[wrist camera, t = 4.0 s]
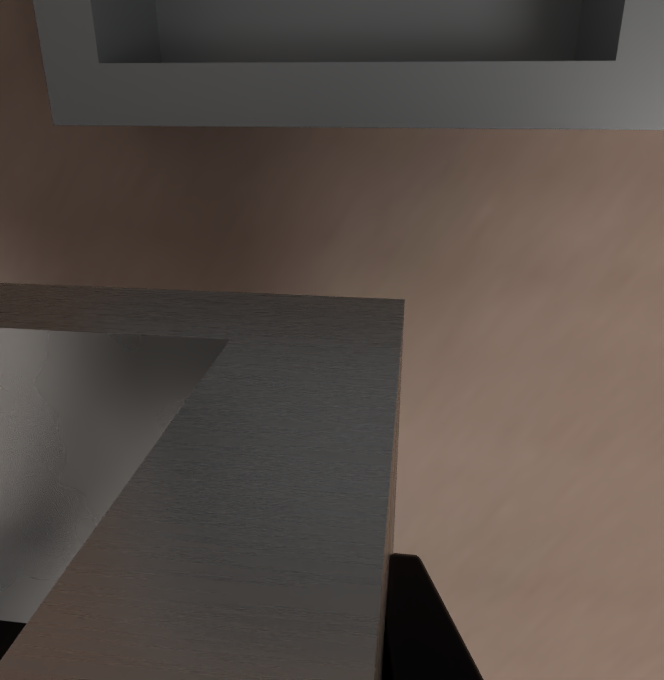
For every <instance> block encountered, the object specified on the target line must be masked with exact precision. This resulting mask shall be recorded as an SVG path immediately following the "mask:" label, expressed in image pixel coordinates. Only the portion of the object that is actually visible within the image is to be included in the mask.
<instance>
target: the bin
mask: <svg viewBox="0 0 664 680" xmlns="http://www.w3.org/2000/svg"><path fill="white" fill-rule="evenodd" d="M33 6H34V12H35V18H36V24H37V30H38V36H39V42H40V48H41V53H42V59H43V65H44V71H45V77H46V83H47V89H48V95H49V101H50V107H51V113H52V119H53V125H77V126H210V127H344V128H477V129H610V130H664V0H33Z"/></svg>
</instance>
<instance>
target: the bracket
mask: <svg viewBox="0 0 664 680" xmlns="http://www.w3.org/2000/svg"><path fill="white" fill-rule="evenodd" d="M404 303H405V300H404V299H380V298H356V297H332V296H308V295H283V294H259V293H235V292H211V291H187V290H163V289H139V288H115V287H91V286H67V285H43V284H19V283H0V620H3V621H12V622H21V623H27V624H26V625H25V627H24V628H23V630H22V631H21V632H20V634H19V635H18V637H17V638H16V639H15V641H14V642H13V644H12V645H11V646H10V648H9V649H8V651H7V652H6V653H5V655H4V656H3V658H2V659H1V660H0V680H383V661H384V636H385V618H386V604H387V591H388V578H389V564H390V554H392V553H393V547H394V525H395V502H396V480H397V458H398V436H399V414H400V392H401V370H402V348H403V326H404Z"/></svg>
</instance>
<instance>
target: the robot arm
mask: <svg viewBox="0 0 664 680" xmlns="http://www.w3.org/2000/svg"><path fill="white" fill-rule="evenodd" d="M26 624H27V623H21V622H12V621H3V620H0V660H1V659H2V658H3V656H4V655H5V653H6V652H7V651H8V649H9V648H10V646H11V645H12V644H13V642H14V641H15V639H16V638H17V637H18V635H19V634H20V632H21V631H22V630H23V628H24V627H25V625H26ZM383 680H483V678H482V676H481V674H480V672H479V670H478V668H477V666H476V664H475V662H474V660H473V659H472V657H471V655H470V653H469V651H468V649H467V647H466V645H465V643H464V641H463V639H462V637H461V636H460V634H459V632H458V630H457V628H456V626H455V624H454V622H453V620H452V618H451V616H450V614H449V612H448V611H447V609H446V607H445V605H444V603H443V601H442V599H441V597H440V595H439V593H438V591H437V589H436V588H435V586H434V584H433V582H432V580H431V578H430V576H429V574H428V572H427V570H426V568H425V566H424V565H423V563H422V561H421V559H420V558H419V557H418V556H417V555H410V554H399V553H392V554H390V564H389V578H388V591H387V604H386V618H385V636H384V661H383Z"/></svg>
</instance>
